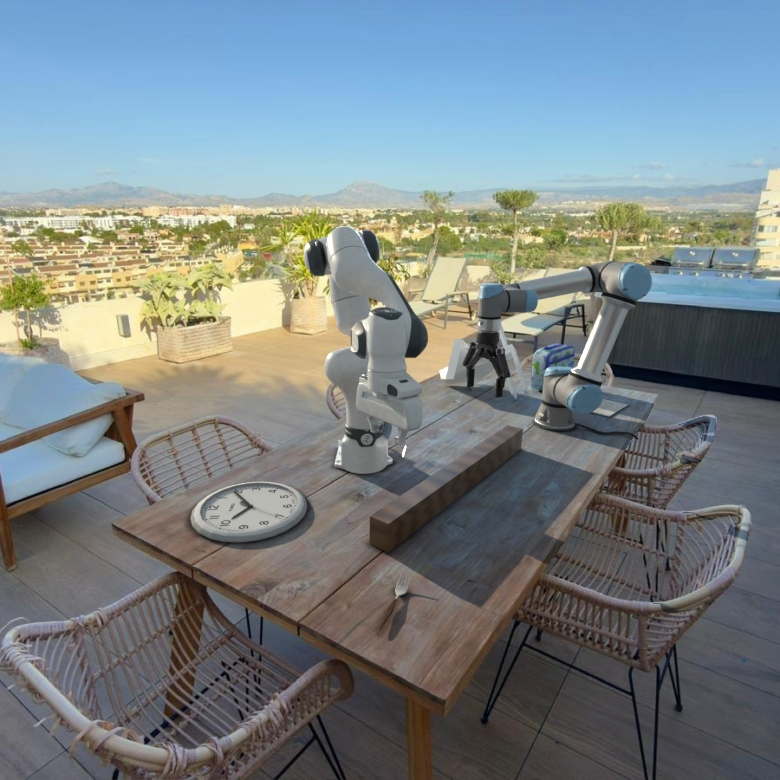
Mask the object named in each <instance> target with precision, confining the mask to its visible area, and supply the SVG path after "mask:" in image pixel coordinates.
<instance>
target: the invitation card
mask: <svg viewBox="0 0 780 780" xmlns="http://www.w3.org/2000/svg"><path fill="white" fill-rule="evenodd" d="M628 406H629V404H627V403H623V402H618V401H614V400H609V399H605V398H603V400H602V403H601V404H600V406H599V407H598V408H597V409H596V410H595V411H593V412H591V413H593V414H596V415H600V416H604V417H608V418H609V417H611V416H613V415H614V414H616V413H617V412H619V411H621V410H623V409H624V408H626V407H628Z"/></svg>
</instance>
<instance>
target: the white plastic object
mask: <svg viewBox="0 0 780 780" xmlns="http://www.w3.org/2000/svg"><path fill="white" fill-rule="evenodd" d="M498 332H499V333H500V335H499V339H500V342H501V345H502V347H499V349H501V348H504V349H505V357H506V360H507V362H508V361H510V360H513V363H514V366H515V369H516V372H517V376H518V380H519V382H520V385H521V389H522V391H523V393H524V395H525V396H526V397H528V396H531V395H530V390H529V388H528V387H529V386H528V384H527V381H526V378H525V375H524V371H523V369H522V368H523V367H522V366H521V362H520V359H519V355H518V352H517V349H516V347H515V346H514V345H513V343H511V344H508V341H507V337H506V334H505V331H504V328H503V325H502V320H501V321H500V330H499V331H498ZM469 348H470V345H468V343H466V342H465V340H464V339H463V338H460V339H458V338H454V340H453V344H452V349H451V353H450V357H449V362H448V366H446V367H444V368H442V369H440V370H439V371H438V372H439V376H440V381H442V383H443V384H444V385H445V386H449V385H458V384H467V376H466V374H467V369H466V367H465V366H463V365H462V364H463V361H464V359H465V357H466V355H467V353H468V350H469ZM477 351H478V349H477V350H476V352H477ZM476 352H475V353H476ZM474 356H475V354H474ZM474 356H473V357H474ZM493 358H494V357H493ZM472 369H473V368H472ZM474 369H475V375H474V384H477V383H480V382H482V381H484V378H485V377H486V376H487V375H489V374H490V373H492V372H494V371H495V369H494V367H493V365H492V363H491V362H490V361H489V359H485V358H481V359H480V360H479V361H478V362H477V363H476V364H475V366H474ZM505 381H506V383H507V386H508V390H509V393H510V394H511V395H512V397H513V398H514V399H515V400H517V392H516V391H517V390H516V388H515V385H514V381H513V378H512V376H511V377H509V378H506V379H505Z"/></svg>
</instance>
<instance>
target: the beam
mask: <svg viewBox="0 0 780 780" xmlns="http://www.w3.org/2000/svg"><path fill="white" fill-rule="evenodd" d="M523 432H524V428H521V427H519V426H518V427H516V426H514V425H509V424H508V425H506V426H504V427H503V428H501V429H499V430H498V431H496V432H495V433H493V434H492V435H490V436H489V437H487V438H486V439H485V440H483V441H481V442H479V443H478V444H477V445H476V446H473V447H472V448H471V449H469V450H467V452H465V453H463V454H462V455H460V456H459V457H457V458H455V459H454V460H453V461H451V462H450V463H448V464H446V465H445V466H443V467H441V468H440V469H439V470H437V471H436V472H434V473H432V475H430V476H428V477H427V478H425V479H424V480H422V481H420V482H419V483H418V484H417V485H415V486H413V487H411V488H410V489H409V490H407V491H406V492H404V493H403V494H401V495H399V496H398V497H396V498H395V499H394V500H392V501H390V502H389V503H387V504H386V505H385V506H383V507H381V508H380V509H378V510H377V511H375V512H374V513H372V514H370V515H369V545H371V546H373V547H376V548H377V549H380V550H382V551H384V552H387V553H390V552H391V551H392V550H393V549H394V548H395V547H397V546H398V545H399V544H401V543H402V542H403V541H405V540H406V539H407V538H409V537H410V536H411V535H413V534H414V533H415V532H416V531H418V530H419V529H420V528H421V527H423V526H424V525H426V524H427V523H429V521H431V520H432V519H433V518H434V517H436V516H437V515H439V514H440V513H441V512H442V511H444V510H445V509H446V508H448V506H450V505H451V504H452V503H454V502H455V501H456V500H458V499H459V498H460V497H461V496H463V495H464V494H465V493H467V492H468V491H470V489H472V488H473V487H474V486H476V485H478V483H479V482H481V481H482V480H483V479H485V478H486V477H487V476H488V475H490V474H491V473H493V472H494V471H495V470H496V469H498V468H499V467H500V466H501V465H503V464H504V463H505V462H506V461H508V460H510V458H512V457H513V456H514V455H516V454H517V453H518V452H519V451H521V450H522V443H523Z"/></svg>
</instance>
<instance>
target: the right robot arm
mask: <svg viewBox="0 0 780 780" xmlns="http://www.w3.org/2000/svg"><path fill="white" fill-rule="evenodd" d="M652 284H653V278H652V274H651V272H650V270H649V269H648V268H647V266H645V265H643V264H641V263H638V262H634V261H619V260H606V261H602V262H598V263H594V264H589V265H585V266H581V267H579V269H578V270H574V271H569V272H564V273H558V274H554V275H549V276H544V277H539V278H534V279H528V280H524V281H517V282H513V283H508V284H504V283H498V282H497V283H496V282H494V283H493V282H485V283H484V282H483V283H482V284H481V285H479V291H478V292H479V293H478V303H477V304H478V308H477V323H476V330H477V331H476V336H475V337H476V338H475V341H470V343H469V347H470V348H469V350H468V353H467V355H466V357H465V359H464V361H463V364H462V365H463V366H465V367H466V369H467V374H466V376H467V383H466V388H467V389H468V388H469V389H470V388H474V386H475V383H474V375H475V369H474V366H475V364H476V363H477V362H478V361H479V360H480V359H481V358H485V359H489V361H490V362H491V363H492V365H493V367H494V371H495V373H496V376H497V378H496V380H495V381H496V382H495V393H494V396H495V397H494V398H495V399H499V398H502V397H503V392H504V388H505V387H506V386H505V385H506V378H509V377H511V378H512V375H511V371H510V368H509V365H508V361H507V360H506V357H505V349H504V348H503V347H498V344H499V342H500V333H499V330H500V321H501V322H502V320H501V318H502V314H507V313H508V314H509V313H511V314H512V313H524V314H526V313H532V312H534V311H535V310H536V309H537V308H538V303H539V300H545V299H550V298H556V297H560V296H565V295H566V296H567V295H571V294H575V293H580V292H581V293H583V294H590V293H598V294H599V293H601V295H600V298H601V301H602V304H601V307H600V309H599V311H598V314H597V316H596V319H595V321H594V324H593V326H592V328H591V330H590V334H589V336H588V338H587V340H586V343H585V346H584V348H583V350H582V352H581V355H580V358H579V360H578V362H577V365H576V367H573V368H572V367H560V366H557V367H548V368H547V369H546V370H545V373H544V382H543V390H541V391H542V394H541V402H540V405H539V407H538V410H537V411H536V413H535V416H534V424H535V425H536V426H537V427H539V428H542V429H544V430H549V431H556V432H567V431H572V430H574V429H575V428H576V426H577V427H579V428H583V429H586V430H588V431H592V432H595V433H597V434H601V435H626V436H631V437H633V438H634V439H635V440H639V437H638V436H637V435H636V434H634V433H633V432H629V431H617V430H614V431H602V430H598V429H595V428H593V427H591V426H586V425H584V424H581V423H577V422H576V418H575V417H576V416H575V413H576V414H579V415H589V414H591V413H592V412H593V411H595V410H596V409H597V408H598V407H599V406H600V404H601V403H602V400H603V399H604V394H603V390H602V389H601V387H602V385H603V383H604V380H603V378H602V374H603V371H604V368H605V366H606V364H607V363H608V362H607V361H608V359H609V357H610V355H611V352H612V350H613V347H614V345H615V343H616V340H617V338H618V336H619V333H620V330H621V329H622V326H623V324H624V321H625V320H626V316H627V314H628V312H629V310H631V309H633V308H635V307H636V305H637V303H638V301H639V300H642V299H643V298H644V297H646V296H648V294H649V292H650V290H651V288H652ZM500 348H501V349H500ZM477 349H478V351H477V352H476V350H477ZM475 352H476V353H475ZM474 354H475V356H474ZM473 356H474V357H473ZM493 357H494V358H493ZM472 368H473V369H472Z"/></svg>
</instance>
